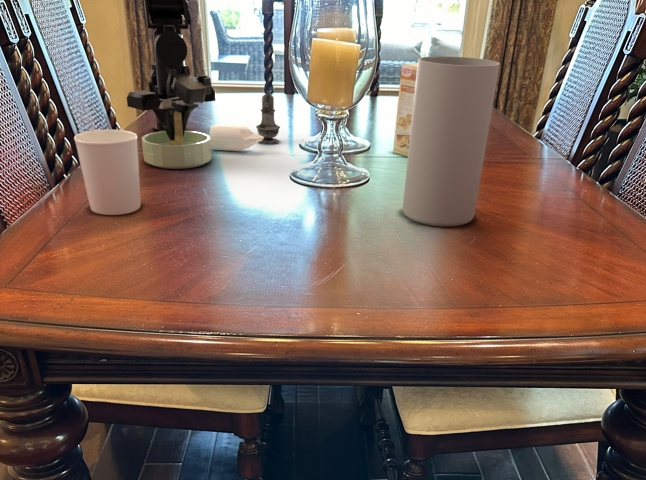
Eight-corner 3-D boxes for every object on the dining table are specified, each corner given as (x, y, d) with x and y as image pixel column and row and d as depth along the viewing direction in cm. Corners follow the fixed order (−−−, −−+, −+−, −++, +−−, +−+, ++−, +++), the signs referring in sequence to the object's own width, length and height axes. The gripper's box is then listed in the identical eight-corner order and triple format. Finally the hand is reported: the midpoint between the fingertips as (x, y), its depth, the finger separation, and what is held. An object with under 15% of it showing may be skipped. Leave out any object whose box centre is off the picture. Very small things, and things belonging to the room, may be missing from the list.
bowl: (130, 160, 131) (127, 136, 129) (183, 150, 141) (181, 127, 138) (172, 174, 124) (170, 149, 121) (224, 161, 133) (223, 138, 131)
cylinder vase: (429, 232, 100) (451, 67, 87) (388, 209, 109) (402, 57, 97) (488, 222, 105) (517, 65, 92) (444, 201, 115) (464, 55, 102)
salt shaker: (281, 139, 153) (281, 88, 147) (278, 145, 148) (278, 92, 142) (258, 138, 154) (257, 87, 148) (254, 143, 149) (253, 91, 143)
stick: (171, 155, 132) (167, 112, 127) (178, 154, 133) (175, 111, 128) (177, 157, 131) (173, 113, 126) (184, 156, 132) (181, 112, 127)
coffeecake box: (413, 159, 141) (424, 67, 132) (391, 152, 146) (399, 64, 136) (454, 150, 150) (466, 64, 140) (431, 144, 155) (442, 60, 145)
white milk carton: (260, 155, 139) (260, 130, 136) (209, 152, 140) (208, 127, 137) (266, 149, 144) (266, 125, 141) (216, 146, 145) (215, 121, 142)
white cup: (156, 203, 108) (149, 133, 102) (123, 220, 100) (113, 145, 94) (109, 195, 110) (99, 127, 104) (73, 211, 102) (60, 138, 96)
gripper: (156, 67, 111) (164, 153, 119) (231, 60, 124) (234, 139, 132) (120, 61, 117) (130, 143, 125) (195, 55, 130) (200, 130, 138)
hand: (176, 139), depth 130 cm, fingers closed on stick, 2 cm apart
